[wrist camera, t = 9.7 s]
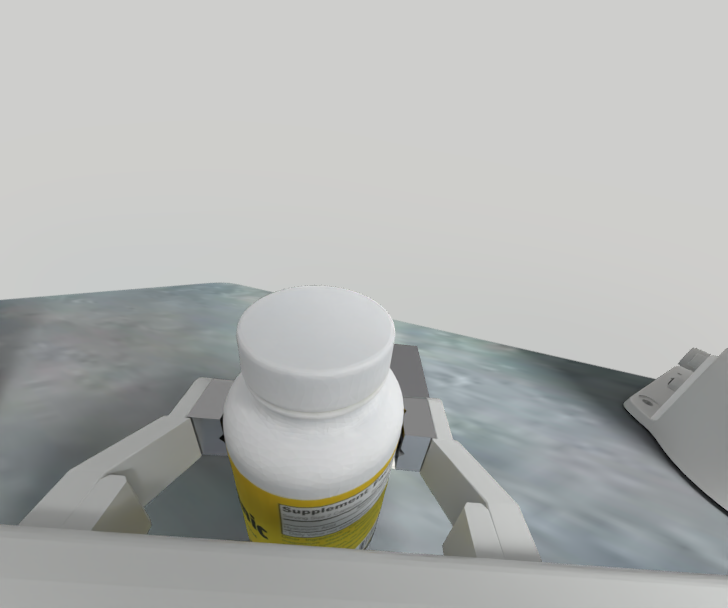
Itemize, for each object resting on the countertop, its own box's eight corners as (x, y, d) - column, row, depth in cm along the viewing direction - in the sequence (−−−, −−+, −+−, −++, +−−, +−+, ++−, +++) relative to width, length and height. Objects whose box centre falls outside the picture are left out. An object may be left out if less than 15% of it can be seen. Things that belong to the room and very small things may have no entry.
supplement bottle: (252, 458, 13) (223, 275, 9) (359, 439, 15) (385, 273, 10) (239, 620, 9) (165, 423, 4) (394, 568, 10) (472, 380, 6)
